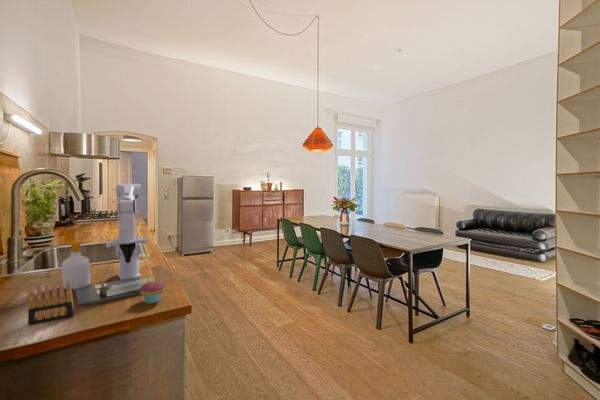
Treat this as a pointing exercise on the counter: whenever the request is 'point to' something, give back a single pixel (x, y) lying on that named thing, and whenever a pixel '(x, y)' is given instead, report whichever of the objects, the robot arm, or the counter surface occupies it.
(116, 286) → the white long bar
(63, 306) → the ammunition clip
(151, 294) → the cupcake
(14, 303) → the counter surface
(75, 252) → the soap bottle
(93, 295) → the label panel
